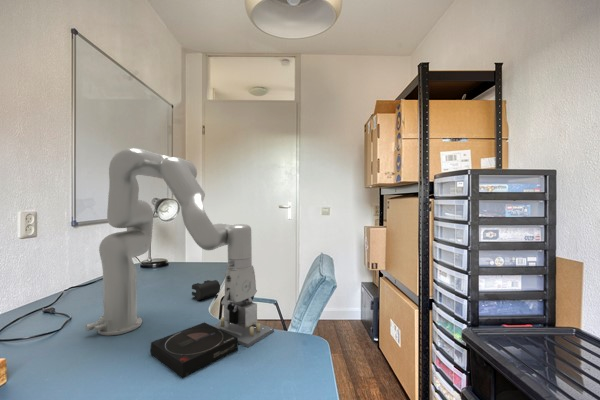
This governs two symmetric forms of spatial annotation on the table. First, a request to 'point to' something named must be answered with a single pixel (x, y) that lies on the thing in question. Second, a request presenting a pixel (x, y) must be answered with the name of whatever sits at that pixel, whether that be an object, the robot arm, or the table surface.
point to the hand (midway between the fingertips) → (240, 319)
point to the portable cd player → (193, 348)
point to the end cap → (205, 289)
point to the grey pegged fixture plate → (245, 332)
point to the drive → (244, 313)
